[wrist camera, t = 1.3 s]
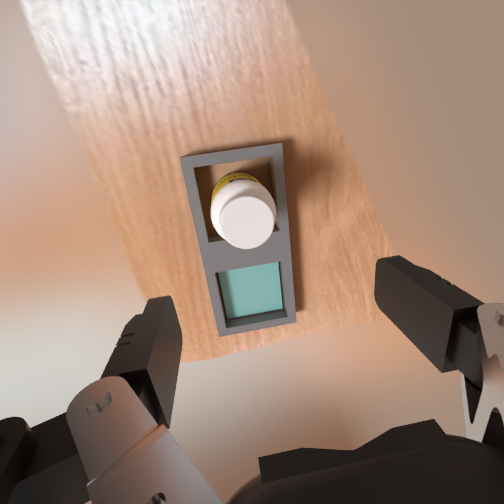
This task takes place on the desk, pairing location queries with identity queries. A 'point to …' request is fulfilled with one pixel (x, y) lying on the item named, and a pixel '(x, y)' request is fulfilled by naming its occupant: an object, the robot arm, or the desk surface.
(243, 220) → the supplement bottle
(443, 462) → the robot arm
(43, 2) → the desk surface
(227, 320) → the frame
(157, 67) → the desk surface
